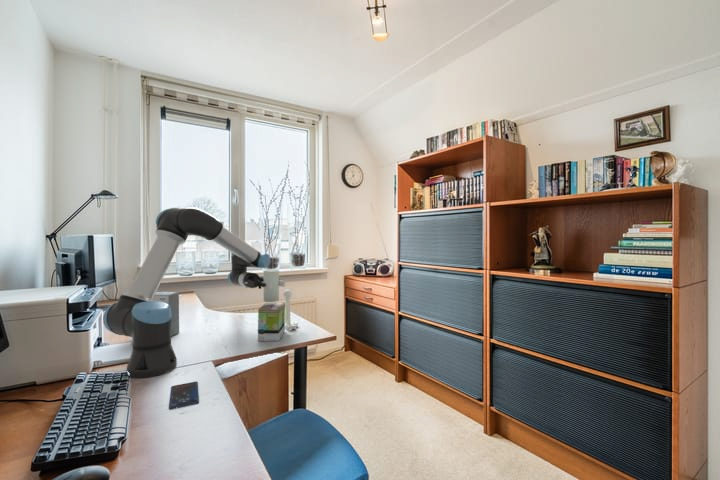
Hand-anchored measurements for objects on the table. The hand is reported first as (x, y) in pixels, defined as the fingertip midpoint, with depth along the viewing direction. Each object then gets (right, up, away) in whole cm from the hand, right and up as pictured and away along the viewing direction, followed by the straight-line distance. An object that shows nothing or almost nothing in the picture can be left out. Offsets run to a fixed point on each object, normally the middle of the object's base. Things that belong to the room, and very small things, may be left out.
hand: (277, 284), depth 151 cm
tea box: (-4, -25, +3) cm, 26 cm away
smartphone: (-15, -27, -53) cm, 61 cm away
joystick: (+2, -25, +18) cm, 31 cm away
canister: (-4, -8, +3) cm, 9 cm away
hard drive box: (-57, -25, +4) cm, 63 cm away
